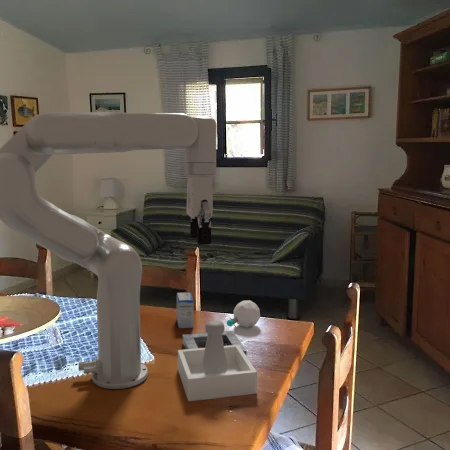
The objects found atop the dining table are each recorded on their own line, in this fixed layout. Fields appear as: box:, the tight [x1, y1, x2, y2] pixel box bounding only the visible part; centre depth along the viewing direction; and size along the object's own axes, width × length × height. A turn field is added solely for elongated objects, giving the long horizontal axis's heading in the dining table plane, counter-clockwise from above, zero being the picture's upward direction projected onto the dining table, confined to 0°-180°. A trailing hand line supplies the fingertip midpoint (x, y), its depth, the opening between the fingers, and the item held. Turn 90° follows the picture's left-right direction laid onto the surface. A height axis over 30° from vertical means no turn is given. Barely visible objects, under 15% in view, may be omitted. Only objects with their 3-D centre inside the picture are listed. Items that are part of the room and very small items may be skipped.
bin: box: [177, 345, 258, 402], centre depth 110 cm, size 15×15×5 cm
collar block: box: [182, 330, 248, 357], centre depth 127 cm, size 14×14×2 cm
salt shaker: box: [202, 320, 228, 375], centre depth 110 cm, size 6×6×13 cm
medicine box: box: [176, 292, 195, 329], centre depth 146 cm, size 8×4×9 cm, turn 10°
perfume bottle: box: [226, 299, 261, 329], centre depth 143 cm, size 8×8×12 cm
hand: (200, 240), depth 118 cm, fingers open, 9 cm apart
